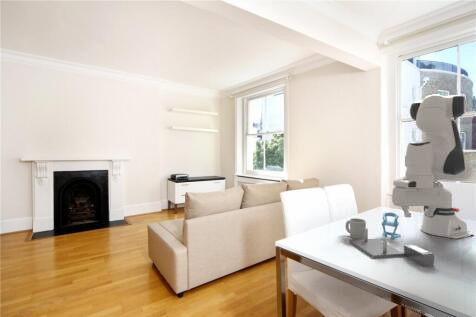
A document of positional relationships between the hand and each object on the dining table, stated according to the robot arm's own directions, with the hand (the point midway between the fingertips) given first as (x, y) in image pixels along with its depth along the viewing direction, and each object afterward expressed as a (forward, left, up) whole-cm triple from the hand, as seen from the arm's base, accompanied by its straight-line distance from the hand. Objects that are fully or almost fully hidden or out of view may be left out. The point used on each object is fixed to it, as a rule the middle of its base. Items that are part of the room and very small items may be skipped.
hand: (418, 216), depth 93 cm
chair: (-9, -26, -18) cm, 33 cm away
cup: (+9, -28, -18) cm, 35 cm away
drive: (0, 0, -18) cm, 18 cm away
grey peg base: (+9, -13, -18) cm, 24 cm away
